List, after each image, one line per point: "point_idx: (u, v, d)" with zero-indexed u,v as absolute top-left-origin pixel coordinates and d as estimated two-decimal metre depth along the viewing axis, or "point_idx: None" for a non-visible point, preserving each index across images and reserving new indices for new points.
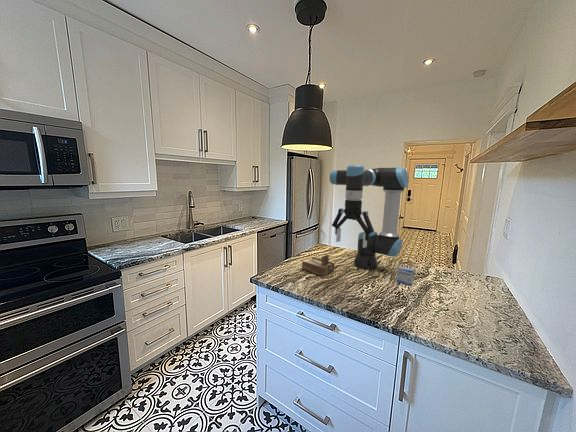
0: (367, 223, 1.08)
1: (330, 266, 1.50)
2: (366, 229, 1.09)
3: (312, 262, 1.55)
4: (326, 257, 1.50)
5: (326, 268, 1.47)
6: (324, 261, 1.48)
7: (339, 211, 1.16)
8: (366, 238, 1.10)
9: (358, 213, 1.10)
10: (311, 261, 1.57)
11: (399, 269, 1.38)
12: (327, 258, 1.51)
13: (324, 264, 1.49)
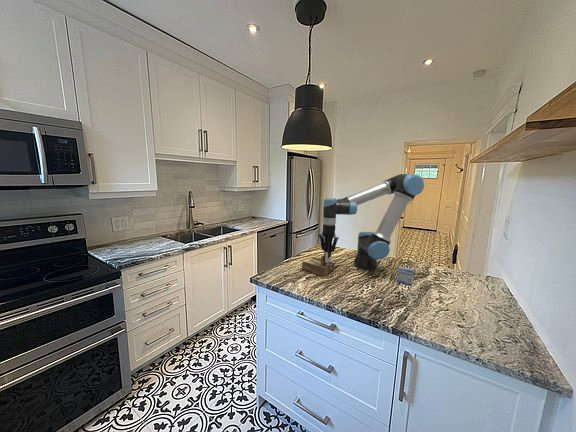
0: (333, 245, 1.43)
1: (330, 266, 1.50)
2: (329, 250, 1.45)
3: (311, 262, 1.55)
4: None
5: (326, 268, 1.47)
6: (323, 261, 1.49)
7: (319, 236, 1.49)
8: (328, 256, 1.47)
9: (332, 235, 1.43)
10: (310, 261, 1.57)
11: (399, 269, 1.38)
12: None
13: (323, 264, 1.49)
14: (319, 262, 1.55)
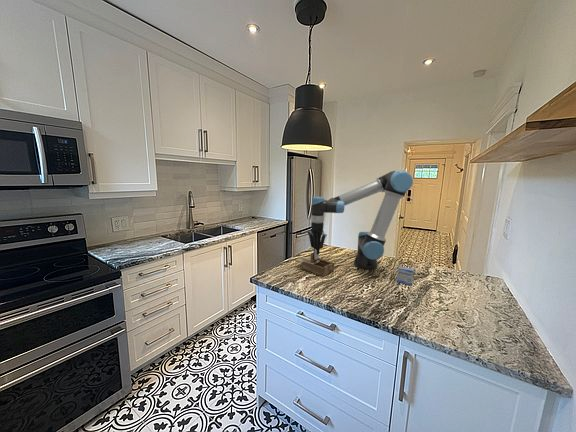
0: (321, 242, 1.49)
1: (330, 266, 1.50)
2: (318, 246, 1.51)
3: (302, 259, 1.60)
4: None
5: (326, 268, 1.47)
6: (313, 257, 1.54)
7: (309, 233, 1.54)
8: (317, 252, 1.52)
9: (320, 232, 1.48)
10: (301, 258, 1.62)
11: (399, 269, 1.38)
12: None
13: (313, 260, 1.54)
14: (309, 259, 1.60)
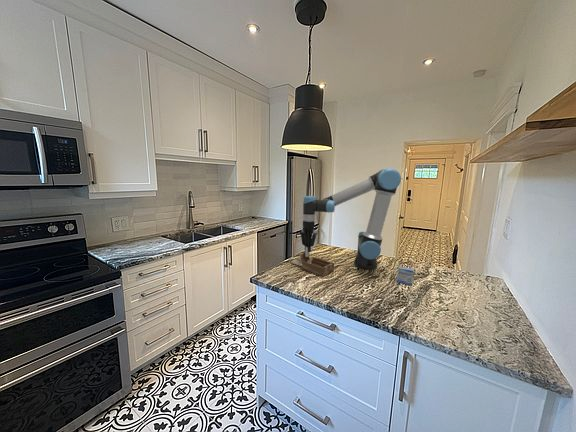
0: (312, 240, 1.53)
1: (330, 266, 1.50)
2: (309, 244, 1.55)
3: (296, 260, 1.66)
4: None
5: (326, 268, 1.47)
6: (303, 258, 1.58)
7: (300, 231, 1.58)
8: (308, 250, 1.57)
9: (311, 231, 1.53)
10: (296, 259, 1.68)
11: (399, 269, 1.38)
12: None
13: (304, 261, 1.59)
14: None
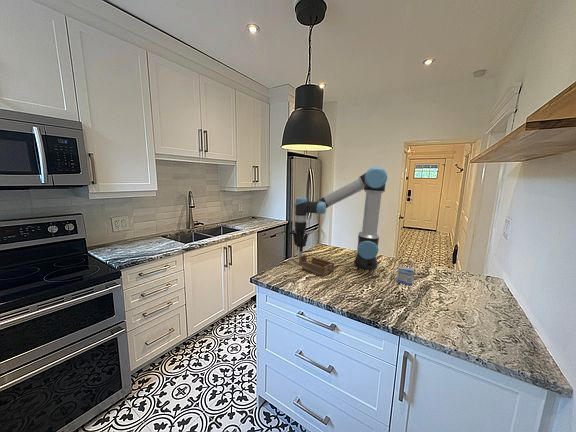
0: (303, 240, 1.58)
1: (330, 266, 1.50)
2: (301, 244, 1.60)
3: (292, 261, 1.68)
4: (304, 257, 1.62)
5: (326, 268, 1.47)
6: (302, 261, 1.61)
7: (292, 232, 1.63)
8: (300, 250, 1.61)
9: (303, 231, 1.57)
10: (292, 260, 1.70)
11: (399, 269, 1.38)
12: (305, 258, 1.63)
13: None
14: None
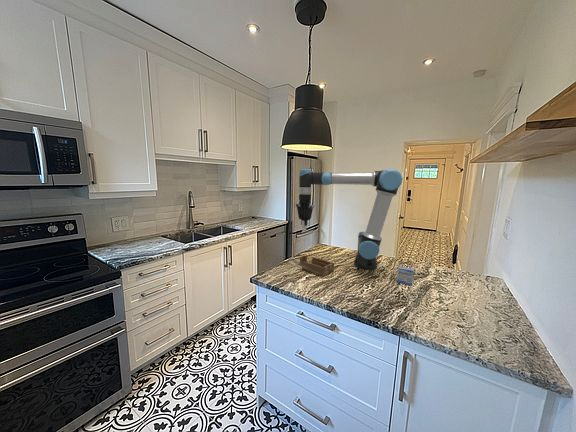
0: (308, 213, 1.53)
1: (330, 266, 1.50)
2: (306, 218, 1.55)
3: (293, 261, 1.68)
4: (304, 257, 1.62)
5: (326, 268, 1.47)
6: (302, 261, 1.61)
7: (297, 206, 1.58)
8: (305, 224, 1.56)
9: (307, 204, 1.52)
10: (292, 261, 1.70)
11: (399, 269, 1.38)
12: (306, 258, 1.63)
13: None
14: (300, 262, 1.67)
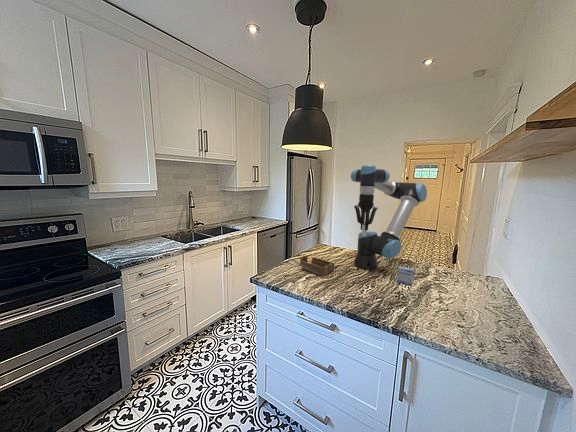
0: (371, 216, 1.32)
1: (330, 266, 1.50)
2: (367, 222, 1.34)
3: (293, 262, 1.67)
4: (305, 257, 1.61)
5: (326, 268, 1.47)
6: None
7: (355, 207, 1.37)
8: (365, 228, 1.35)
9: (370, 205, 1.32)
10: (293, 261, 1.69)
11: (399, 269, 1.38)
12: (306, 258, 1.63)
13: None
14: None
